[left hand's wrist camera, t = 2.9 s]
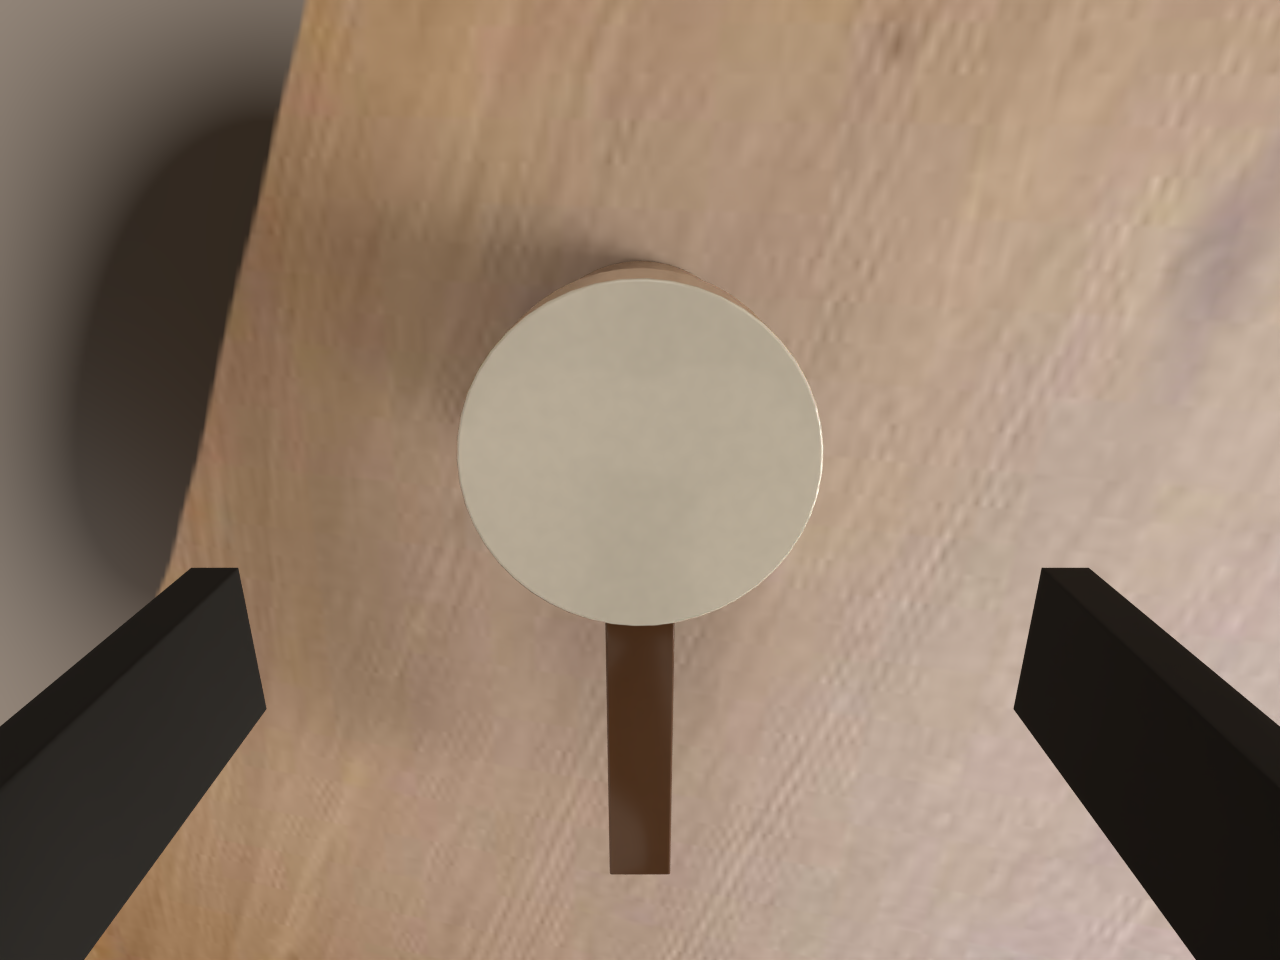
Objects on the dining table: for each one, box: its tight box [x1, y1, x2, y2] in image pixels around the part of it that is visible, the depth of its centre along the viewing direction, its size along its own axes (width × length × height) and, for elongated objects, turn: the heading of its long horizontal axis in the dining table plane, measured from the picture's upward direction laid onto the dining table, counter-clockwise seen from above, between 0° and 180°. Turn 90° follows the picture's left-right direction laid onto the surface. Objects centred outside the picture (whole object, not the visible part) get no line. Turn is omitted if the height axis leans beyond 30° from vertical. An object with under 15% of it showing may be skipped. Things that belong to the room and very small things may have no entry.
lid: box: [457, 268, 823, 626], centre depth 22 cm, size 10×10×3 cm
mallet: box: [581, 261, 701, 874], centre depth 31 cm, size 24×9×9 cm, turn 0°
